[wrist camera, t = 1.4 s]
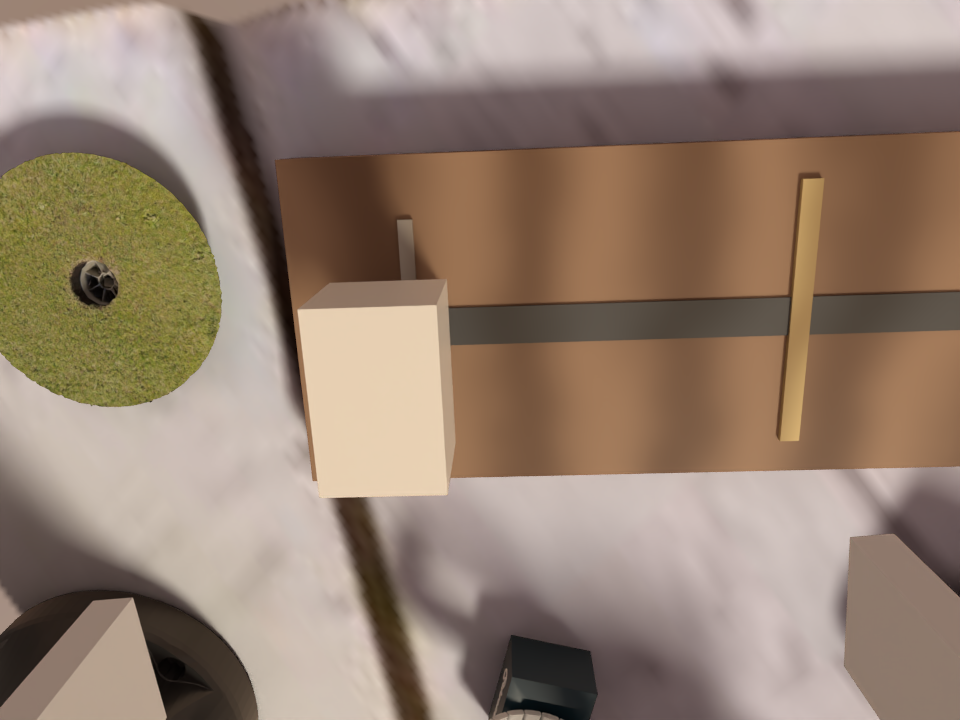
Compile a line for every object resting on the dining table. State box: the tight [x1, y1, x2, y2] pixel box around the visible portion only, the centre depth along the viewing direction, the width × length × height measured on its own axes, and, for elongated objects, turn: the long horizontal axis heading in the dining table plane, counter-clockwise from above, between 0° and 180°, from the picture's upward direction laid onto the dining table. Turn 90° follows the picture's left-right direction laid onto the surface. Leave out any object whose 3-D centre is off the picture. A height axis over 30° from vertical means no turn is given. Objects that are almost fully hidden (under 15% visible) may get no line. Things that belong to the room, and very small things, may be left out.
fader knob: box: [298, 279, 456, 498], centre depth 26 cm, size 4×6×9 cm, turn 2°
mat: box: [0, 152, 222, 407], centre depth 32 cm, size 11×11×2 cm
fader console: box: [275, 131, 960, 481], centre depth 31 cm, size 32×14×3 cm, turn 92°
